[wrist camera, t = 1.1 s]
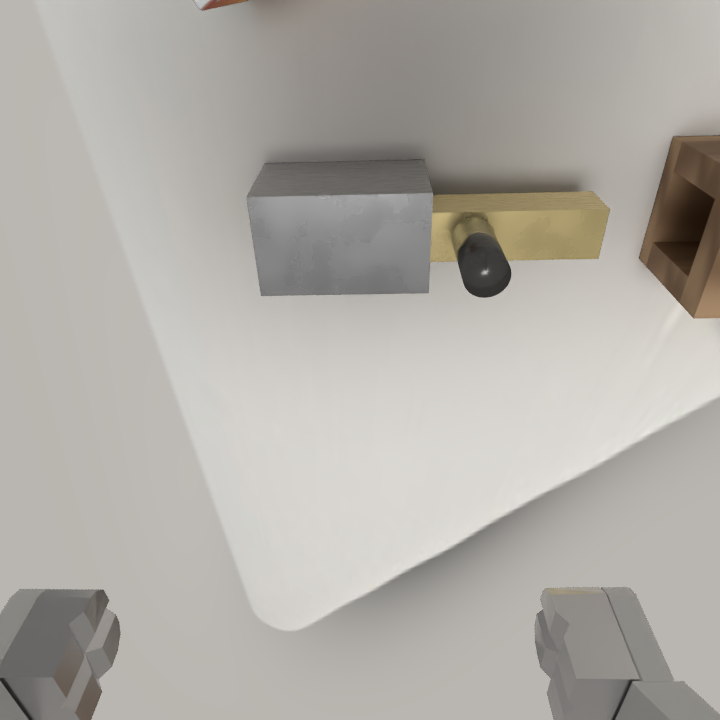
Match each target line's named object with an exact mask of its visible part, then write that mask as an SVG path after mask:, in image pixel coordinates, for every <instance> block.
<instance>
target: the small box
mask: <svg viewBox="0 0 720 720" xmlns="http://www.w3.org/2000/svg"><path fill="white" fill-rule="evenodd" d="M193 1H194V3H195V4H196V6H197V7H198V8H199V9H200V10H202V11H203V10H207V9H212V8H217V7H222V6H227V5H231V4H236V3H241V2H245V1H248V0H193Z"/></svg>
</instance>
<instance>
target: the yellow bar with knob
mask: <svg viewBox="0 0 720 720" xmlns="http://www.w3.org/2000/svg"><path fill="white" fill-rule="evenodd" d="M609 211H610V209H609V208H608V207H607V206H606V205H605V204H604V203H603V201H602V200H601V199H600V198H599V197H598V196H597V195H596V194H595V193H594V192H593V191H587V192H542V193H497V194H452V195H433V208H432V229H431V250H430V262H445V261H457V262H458V265H459V269H460V272H461V276H462V279H463V283H464V286H465V288H466V289H467V290H468V292H470V293H471V294H473V295H475V296H477V297H491V296H494V295H497V294H499V293H500V292H502V291H503V290H504V289H505V288H506V287H507V285H508V283H509V281H510V278H511V269H510V266H509V264H508V261H507V260H553V259H598V258H599V254H600V249H601V245H602V241H603V237H604V232H605V228H606V224H607V220H608V215H609Z"/></svg>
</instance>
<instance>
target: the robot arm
mask: <svg viewBox="0 0 720 720" xmlns="http://www.w3.org/2000/svg"><path fill="white" fill-rule="evenodd" d="M540 600H541V604H542V607H543V610H542V611H540V612H539V613H537V615H536V621H535V643H536V649H537V655H538V659H539V663H540V667H541V668H542V670H543V671H544V672H545V673H546V674H547V675H548V676H549V677H550V678H551V681H550V684H549V688H548V691H547V696H548V699H549V703H550V707H551V711H552V715H553V719H554V720H720V714H719V713H718V712H717V711H715V710H714V709H713V708H712V707H711V706H710V705H709V704H708V703H707V702H706V701H705V700H704V699H702V698H701V697H700V696H699V695H698V694H697V693H696V692H695V691H694V690H693V689H692V688H690V687H689V686H688V685H687V684H686V683H685V682H684V681H674V678H673V676H672V674H671V672H670V669H669V667H668V666H667V663H666V661H665V659H664V656H663V654H662V652H661V649H660V647H659V645H658V643H657V641H656V638H655V636H654V634H653V631H652V630H651V627H650V625H649V623H648V620H647V618H646V616H645V614H644V612H643V609H642V607H641V605H640V602H639V600H638V599H637V596H636V594H635V593H634V592H633V591H632V590H631V588H627V587H611V588H610V587H608V588H599V587H572V588H571V587H570V588H569V587H567V588H545V589H544V590H543V591H542V595H541V599H540ZM108 602H109V599H108V597H107V595H106V593H105V591H104V590H71V589H70V590H68V589H66V590H65V589H62V590H61V589H60V590H58V589H56V590H55V589H19V590H18V591H17V592H16V593H15V594H14V595H13V596H12V597H11V598H10V599H9V600H8V602H7V604H6V606H5V607H4V609H3V610H2V612H1V614H0V720H91V719H92V716H93V713H94V711H95V708H96V706H97V703H98V701H99V698H100V696H101V693H102V690H101V686H100V683H99V678H100V677H101V676H102V675H103V674H105V672H107V671H108V670H109V669H110V668H111V667H112V665H113V662H114V659H115V657H116V654H117V651H118V646H119V639H120V625H119V621H118V618H117V616H116V614H114V613H113V612H111V611H110V610H108V609H107V608H106V607H107V604H108Z"/></svg>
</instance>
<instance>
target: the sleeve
mask: <svg viewBox="0 0 720 720" xmlns="http://www.w3.org/2000/svg"><path fill="white" fill-rule="evenodd" d="M247 204H248V211H249V217H250V224H251V231H252V238H253V245H254V251H255V258H256V265H257V272H258V278H259V285H260V292H261V296H282V295H341V294H401V293H428V292H429V271H430V250H431V229H432V208H433V191H432V187H431V183H430V179H429V176H428V172H427V168H426V165H425V161H424V160H384V161H343V162H301V163H265V164H264V166H263V168H262V170H261V171H260V173H259V175H258V177H257V179H256V181H255V183H254V184H253V186H252V188H251V190H250V192H249V194H248V195H247Z"/></svg>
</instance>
